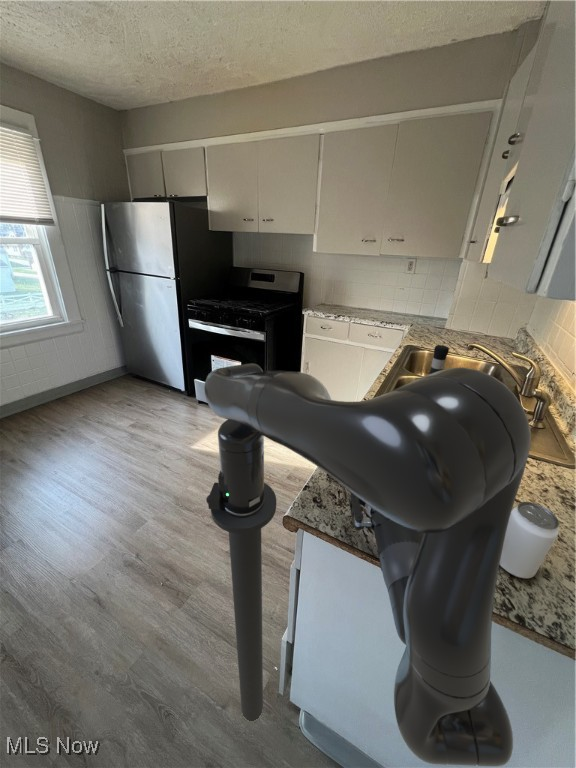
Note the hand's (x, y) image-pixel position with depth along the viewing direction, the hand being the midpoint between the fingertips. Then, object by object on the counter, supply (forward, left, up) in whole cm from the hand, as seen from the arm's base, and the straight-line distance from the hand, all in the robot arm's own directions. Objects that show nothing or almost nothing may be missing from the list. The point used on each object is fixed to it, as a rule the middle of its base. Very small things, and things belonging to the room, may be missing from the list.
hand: (383, 483), depth 61 cm
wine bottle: (+15, +24, -9) cm, 30 cm away
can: (+23, -8, -9) cm, 26 cm away
